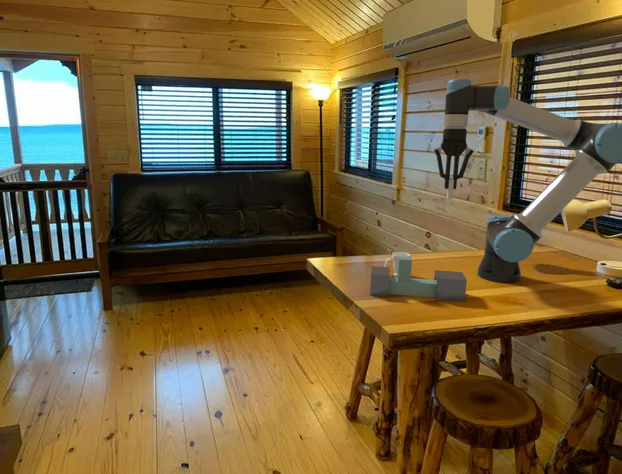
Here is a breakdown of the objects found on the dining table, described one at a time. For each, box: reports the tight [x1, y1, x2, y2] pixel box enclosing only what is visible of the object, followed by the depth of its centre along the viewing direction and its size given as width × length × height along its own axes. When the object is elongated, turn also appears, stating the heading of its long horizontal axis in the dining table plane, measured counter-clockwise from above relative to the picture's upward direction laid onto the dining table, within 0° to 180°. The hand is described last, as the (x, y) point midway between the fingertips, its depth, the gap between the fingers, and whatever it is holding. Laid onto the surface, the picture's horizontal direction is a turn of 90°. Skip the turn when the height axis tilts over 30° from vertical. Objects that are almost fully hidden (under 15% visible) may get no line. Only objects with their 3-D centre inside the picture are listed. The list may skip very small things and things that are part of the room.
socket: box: [369, 265, 391, 297], centre depth 158 cm, size 6×9×7 cm
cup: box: [383, 251, 412, 277], centre depth 175 cm, size 7×10×8 cm
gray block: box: [433, 269, 468, 303], centre depth 154 cm, size 9×9×7 cm
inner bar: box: [389, 256, 437, 298], centre depth 155 cm, size 21×4×12 cm, turn 81°
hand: (449, 198), depth 162 cm, fingers closed
